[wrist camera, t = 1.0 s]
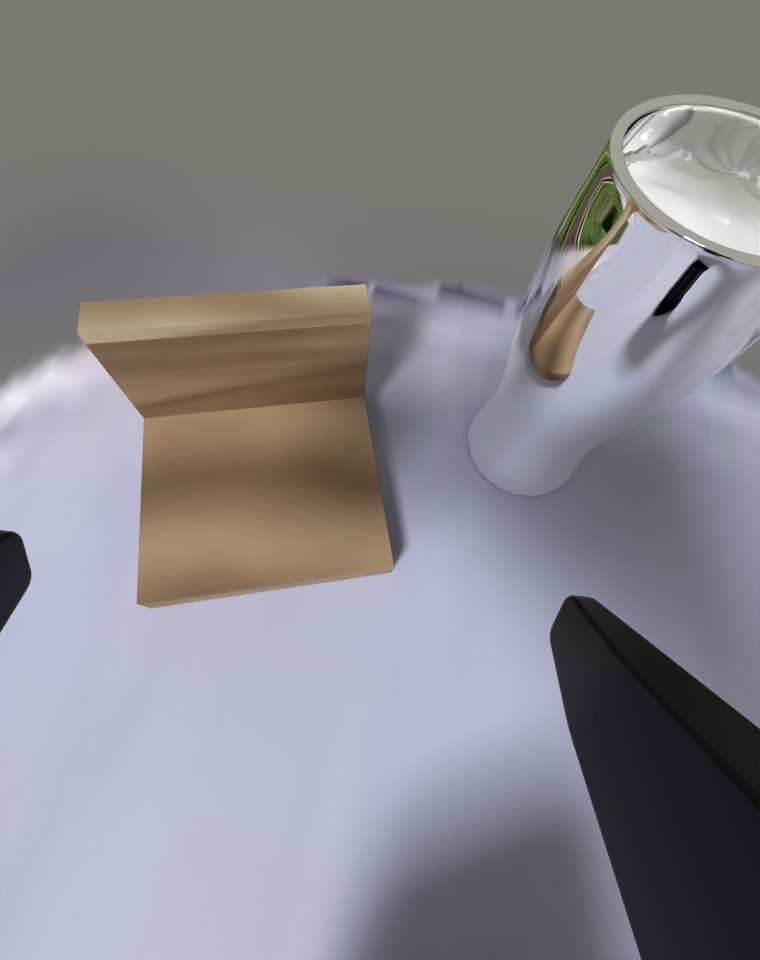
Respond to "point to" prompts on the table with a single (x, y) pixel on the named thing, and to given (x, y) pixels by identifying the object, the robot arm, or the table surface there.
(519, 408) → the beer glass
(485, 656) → the table surface
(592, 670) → the robot arm
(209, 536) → the cleat board
